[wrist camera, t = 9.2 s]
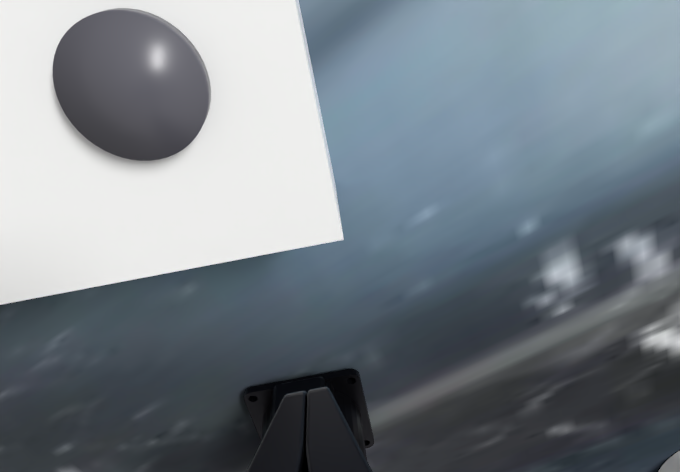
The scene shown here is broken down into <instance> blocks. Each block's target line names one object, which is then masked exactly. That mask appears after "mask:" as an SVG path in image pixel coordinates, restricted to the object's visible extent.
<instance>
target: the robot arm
mask: <svg viewBox="0 0 680 472" xmlns="http://www.w3.org/2000/svg"><path fill="white" fill-rule="evenodd" d="M349 378H352V379H349ZM244 401H245V403H246V406H247V408H248V411H249V413H250V416H251V418H252V420H253V423H254V425H255V428H256V430H257V432H258V435H259V437H260V440H261V444H260V446H259V448H258V450H257V452H256V454H255V456H254V458H253V460H252V462H251V464H250V466H249V468H248V470H247V472H372V470H371V468H370V466H369V464H368V462H367V457H366V450H365V448H369V447H371V446H372V445H373V444H374V438H373V433H372V429H371V424H370V420H369V415H368V411H367V406H366V401H365V397H364V392H363V388H362V383H361V379H360V374H359V372H358V371H357V370H354V369H347V370H342V371H336V372H331V373H325V374H320V375H314V376H309V377H303V378H298V379H292V380H287V381H281V382H276V383H270V384H265V385H259V386H254V387H250V388H248V389H246V390H245V393H244Z"/></svg>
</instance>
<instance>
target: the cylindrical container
mask: <svg viewBox="0 0 680 472" xmlns="http://www.w3.org/2000/svg"><path fill="white" fill-rule="evenodd" d="M658 472H680V451H678V452H677V453H675V454H674V455H673V456H671V457H670V458H669V459H668V460H667V461H666V462H665V463H664V464H663V465H662V466H661V468H660V469H659V471H658Z"/></svg>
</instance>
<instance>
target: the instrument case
mask: <svg viewBox="0 0 680 472" xmlns="http://www.w3.org/2000/svg"><path fill="white" fill-rule="evenodd" d="M339 240H344V238H343V232H342V225H341V219H340V212H339V206H338V200H337V193H336V187H335V180H334V175H333V170H332V165H331V160H330V155H329V150H328V145H327V140H326V135H325V130H324V125H323V120H322V115H321V110H320V105H319V100H318V95H317V90H316V85H315V80H314V75H313V70H312V65H311V60H310V55H309V50H308V45H307V40H306V35H305V30H304V25H303V20H302V15H301V10H300V5H299V0H0V305H2V304H7V303H12V302H18V301H23V300H28V299H33V298H39V297H44V296H49V295H55V294H60V293H65V292H70V291H76V290H81V289H86V288H91V287H97V286H102V285H107V284H112V283H118V282H123V281H128V280H134V279H139V278H144V277H149V276H155V275H160V274H165V273H170V272H176V271H181V270H186V269H192V268H197V267H202V266H207V265H213V264H218V263H223V262H228V261H234V260H239V259H244V258H249V257H255V256H260V255H265V254H271V253H276V252H281V251H286V250H292V249H297V248H302V247H307V246H313V245H318V244H323V243H328V242H334V241H339Z"/></svg>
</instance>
